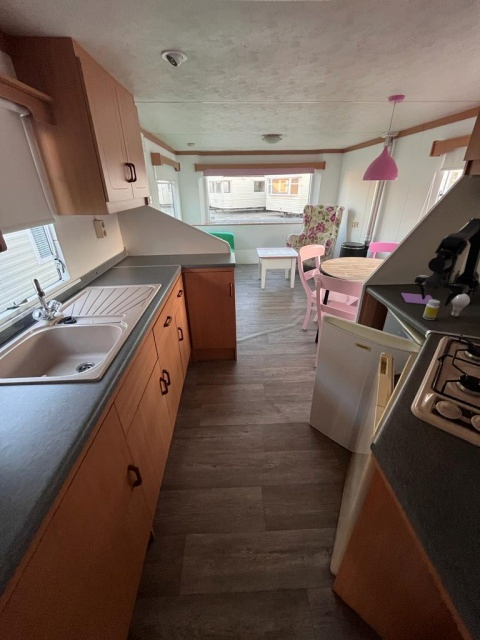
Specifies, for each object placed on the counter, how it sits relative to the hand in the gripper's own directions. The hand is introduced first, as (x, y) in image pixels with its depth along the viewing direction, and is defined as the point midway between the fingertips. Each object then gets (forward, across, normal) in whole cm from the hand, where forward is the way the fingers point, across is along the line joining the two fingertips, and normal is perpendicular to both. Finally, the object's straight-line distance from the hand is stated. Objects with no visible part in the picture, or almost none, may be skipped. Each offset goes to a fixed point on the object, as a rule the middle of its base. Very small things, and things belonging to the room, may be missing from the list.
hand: (434, 302), depth 116 cm
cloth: (+8, -15, +19) cm, 25 cm away
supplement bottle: (+8, 0, 0) cm, 8 cm away
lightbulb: (+8, +5, +12) cm, 15 cm away
